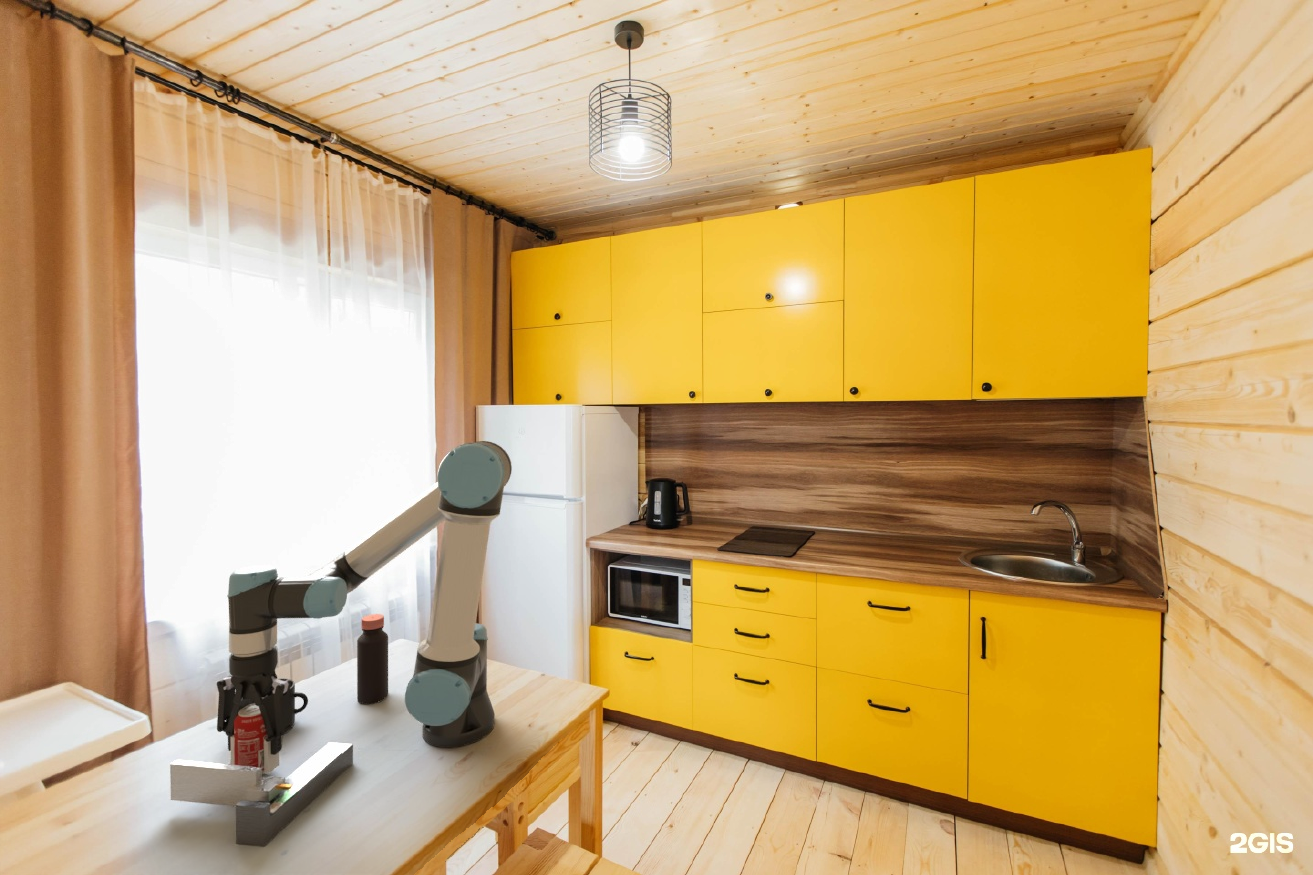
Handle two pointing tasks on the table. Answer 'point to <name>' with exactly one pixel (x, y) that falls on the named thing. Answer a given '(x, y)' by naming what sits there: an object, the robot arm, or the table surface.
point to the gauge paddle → (222, 783)
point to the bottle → (372, 661)
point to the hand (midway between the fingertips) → (255, 767)
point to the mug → (292, 700)
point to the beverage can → (249, 737)
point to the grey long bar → (291, 796)
